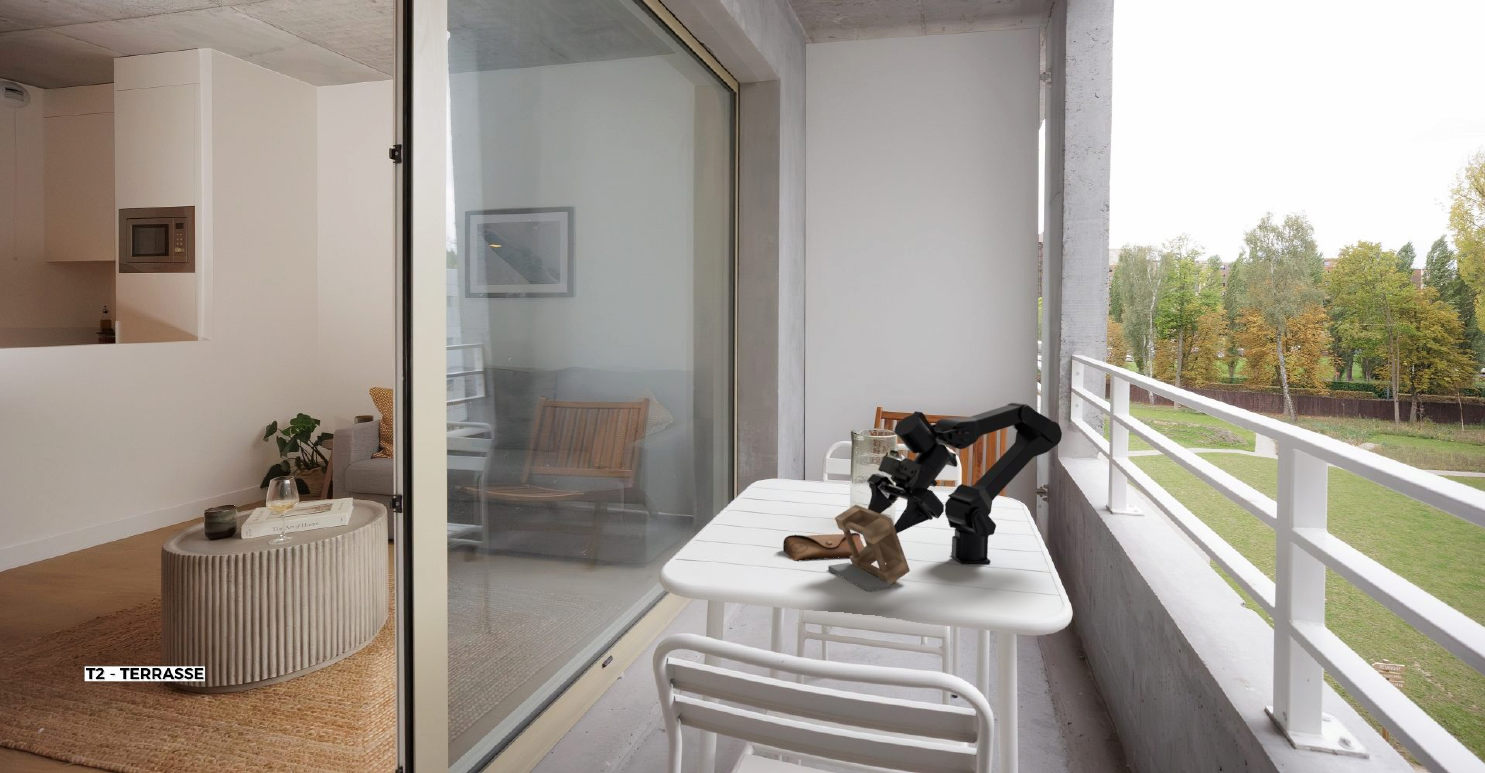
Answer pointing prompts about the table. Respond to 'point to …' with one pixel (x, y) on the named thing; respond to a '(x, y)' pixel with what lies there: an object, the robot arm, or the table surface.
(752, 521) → the table surface
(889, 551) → the wood grain block
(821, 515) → the table surface
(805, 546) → the sunglasses case
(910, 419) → the robot arm
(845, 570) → the strip
